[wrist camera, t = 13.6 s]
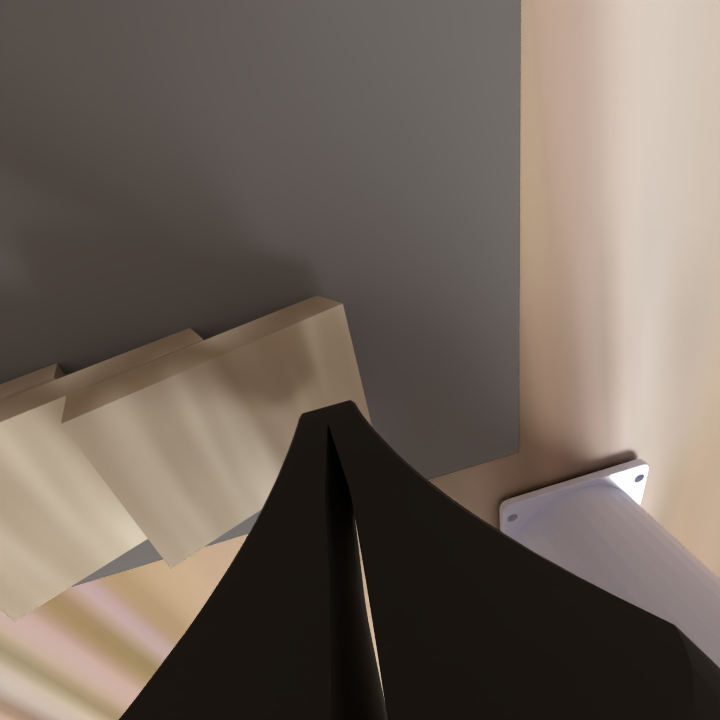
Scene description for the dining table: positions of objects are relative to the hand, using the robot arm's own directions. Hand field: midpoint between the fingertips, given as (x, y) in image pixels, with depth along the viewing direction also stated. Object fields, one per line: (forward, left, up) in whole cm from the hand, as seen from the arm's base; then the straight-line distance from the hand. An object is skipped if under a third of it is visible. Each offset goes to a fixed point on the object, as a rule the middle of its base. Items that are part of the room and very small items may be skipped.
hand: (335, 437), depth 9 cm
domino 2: (0, -1, -3) cm, 3 cm away
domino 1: (0, +3, -3) cm, 5 cm away
